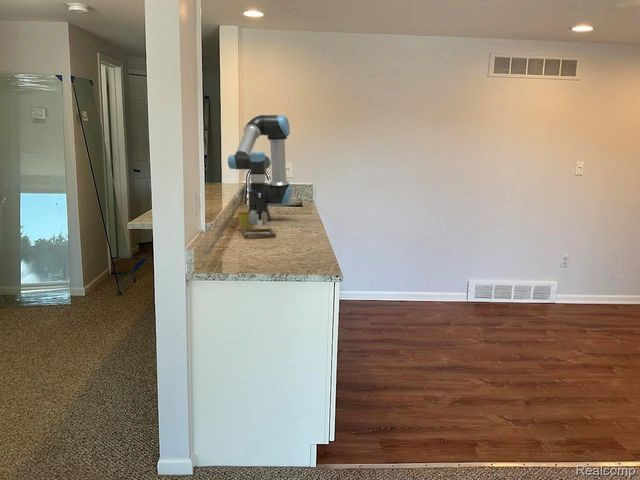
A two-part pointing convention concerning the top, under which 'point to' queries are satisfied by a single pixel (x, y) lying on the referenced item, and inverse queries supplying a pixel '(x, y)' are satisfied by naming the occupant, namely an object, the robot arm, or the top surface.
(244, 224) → the plant pot
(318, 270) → the top surface
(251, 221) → the ceramic mug
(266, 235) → the coaster tray
